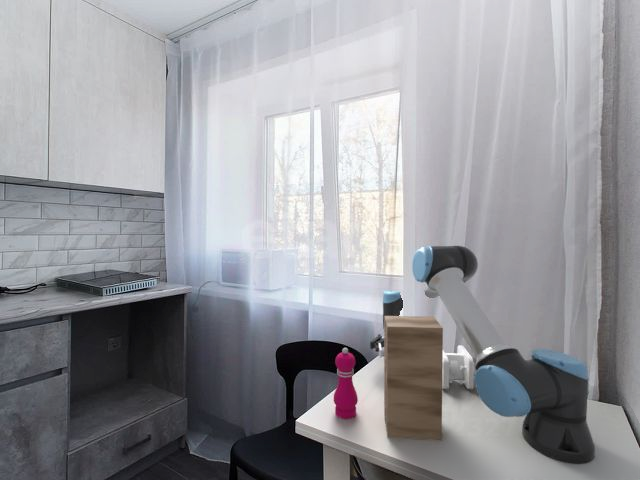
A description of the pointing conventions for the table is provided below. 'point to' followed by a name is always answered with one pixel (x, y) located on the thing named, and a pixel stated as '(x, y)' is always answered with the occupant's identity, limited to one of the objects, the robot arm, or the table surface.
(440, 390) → the walnut stand
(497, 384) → the robot arm
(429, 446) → the table surface
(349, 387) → the pepper mill
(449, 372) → the cable organizer
